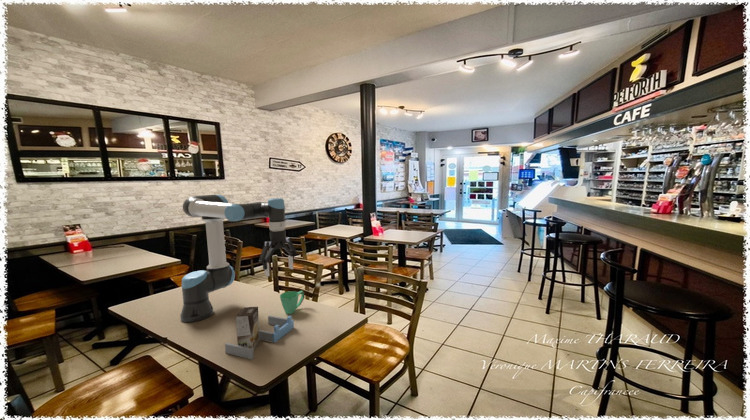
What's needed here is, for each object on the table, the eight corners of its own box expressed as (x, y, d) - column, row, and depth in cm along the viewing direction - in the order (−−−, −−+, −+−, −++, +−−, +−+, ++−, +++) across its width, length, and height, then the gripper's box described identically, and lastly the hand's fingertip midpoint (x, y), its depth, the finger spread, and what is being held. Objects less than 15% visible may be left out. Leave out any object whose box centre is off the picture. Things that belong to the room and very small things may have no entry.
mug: (288, 318, 150) (287, 299, 149) (277, 313, 156) (276, 295, 155) (309, 308, 162) (309, 290, 161) (298, 303, 168) (298, 287, 167)
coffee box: (253, 352, 120) (251, 315, 118) (237, 353, 120) (235, 316, 118) (260, 340, 129) (258, 306, 128) (245, 341, 129) (243, 307, 127)
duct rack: (225, 352, 120) (224, 338, 119) (269, 323, 145) (269, 310, 144) (253, 359, 115) (252, 344, 114) (293, 327, 140) (293, 314, 139)
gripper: (258, 234, 128) (260, 280, 130) (302, 227, 148) (304, 267, 150) (249, 232, 132) (251, 277, 134) (293, 226, 152) (295, 264, 154)
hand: (279, 272), depth 142 cm, fingers open, 13 cm apart
